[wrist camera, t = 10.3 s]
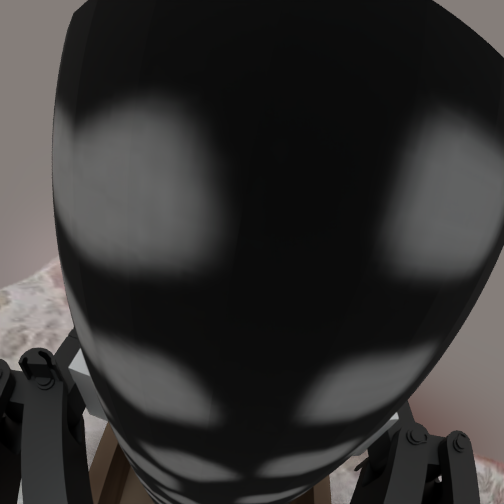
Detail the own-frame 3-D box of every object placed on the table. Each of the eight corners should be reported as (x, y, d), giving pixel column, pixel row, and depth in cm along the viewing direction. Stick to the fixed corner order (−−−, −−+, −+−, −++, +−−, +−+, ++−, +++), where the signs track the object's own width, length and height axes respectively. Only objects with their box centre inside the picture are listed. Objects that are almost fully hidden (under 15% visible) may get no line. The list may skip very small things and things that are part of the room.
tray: (297, 425, 21) (319, 390, 18) (299, 566, 9) (334, 565, 7) (142, 399, 20) (135, 358, 18) (99, 535, 9) (71, 526, 6)
